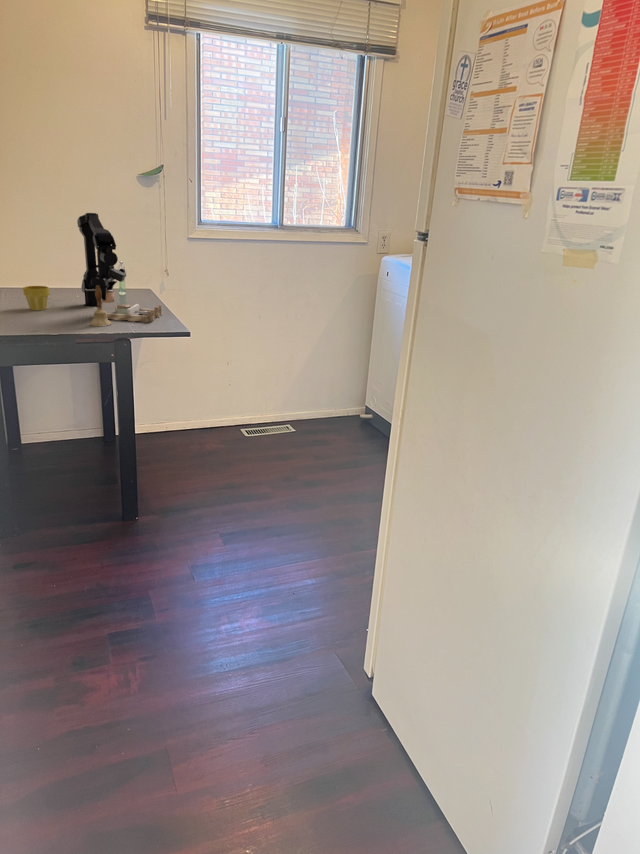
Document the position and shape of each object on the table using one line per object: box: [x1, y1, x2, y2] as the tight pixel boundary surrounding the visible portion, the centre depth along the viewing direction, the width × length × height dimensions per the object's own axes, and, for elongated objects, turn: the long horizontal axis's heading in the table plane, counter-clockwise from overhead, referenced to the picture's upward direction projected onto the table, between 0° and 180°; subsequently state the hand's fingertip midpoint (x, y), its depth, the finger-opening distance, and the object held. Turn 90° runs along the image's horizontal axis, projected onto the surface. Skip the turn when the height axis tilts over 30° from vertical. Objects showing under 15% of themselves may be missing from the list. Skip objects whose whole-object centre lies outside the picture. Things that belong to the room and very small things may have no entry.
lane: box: [106, 304, 162, 323], centre depth 272 cm, size 21×16×5 cm
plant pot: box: [22, 285, 50, 311], centre depth 274 cm, size 10×10×10 cm
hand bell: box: [90, 285, 112, 327], centre depth 253 cm, size 8×8×16 cm
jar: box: [101, 288, 115, 304], centre depth 270 cm, size 6×6×5 cm
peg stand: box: [127, 303, 148, 315], centre depth 272 cm, size 7×13×4 cm, turn 178°
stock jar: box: [116, 303, 132, 315], centre depth 272 cm, size 6×6×5 cm
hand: (106, 299), depth 270 cm, fingers closed on jar, 6 cm apart
